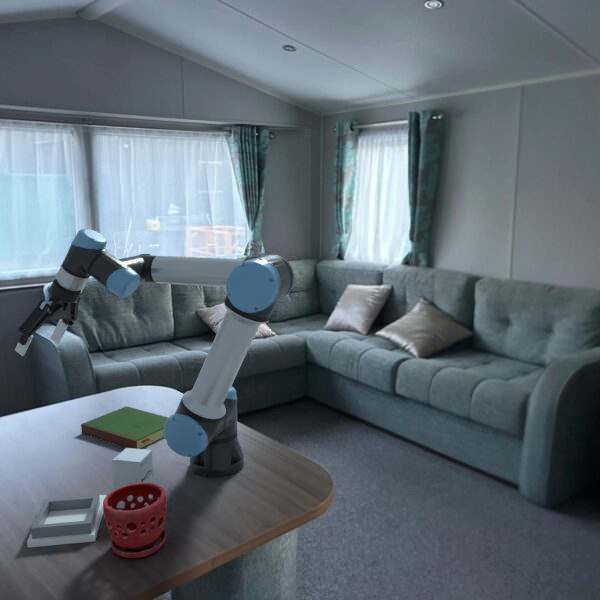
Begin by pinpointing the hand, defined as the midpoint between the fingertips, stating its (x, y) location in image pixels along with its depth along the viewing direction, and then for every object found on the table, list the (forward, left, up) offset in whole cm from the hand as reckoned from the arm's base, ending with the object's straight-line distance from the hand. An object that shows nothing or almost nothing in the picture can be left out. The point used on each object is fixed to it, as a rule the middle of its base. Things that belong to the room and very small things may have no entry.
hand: (37, 346), depth 163 cm
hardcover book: (-21, -20, -35) cm, 46 cm away
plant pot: (-29, +45, -35) cm, 63 cm away
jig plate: (-12, +32, -34) cm, 49 cm away
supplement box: (-26, +25, -35) cm, 50 cm away
